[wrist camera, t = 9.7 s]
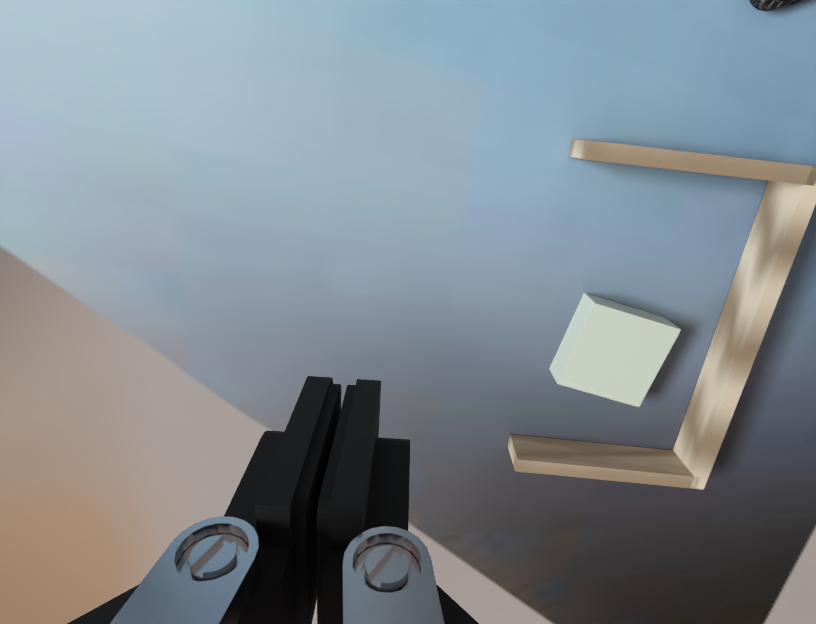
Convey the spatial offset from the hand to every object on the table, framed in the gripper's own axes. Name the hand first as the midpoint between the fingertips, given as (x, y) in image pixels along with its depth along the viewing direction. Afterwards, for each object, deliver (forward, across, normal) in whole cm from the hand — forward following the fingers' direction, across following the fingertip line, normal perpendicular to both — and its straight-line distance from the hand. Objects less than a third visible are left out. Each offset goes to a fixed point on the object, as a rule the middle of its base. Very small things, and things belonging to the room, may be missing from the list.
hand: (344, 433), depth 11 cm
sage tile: (+22, -15, +7) cm, 28 cm away
